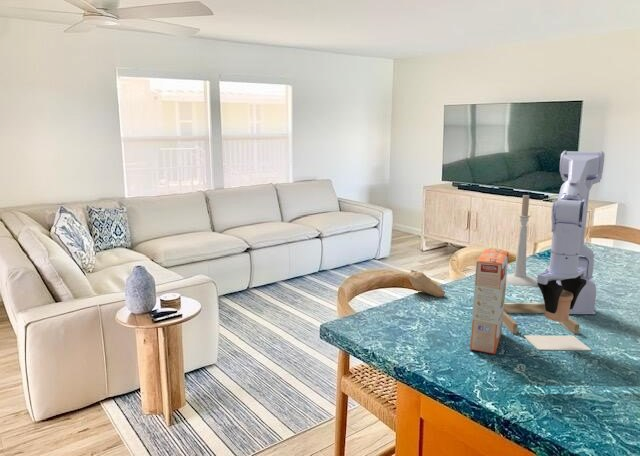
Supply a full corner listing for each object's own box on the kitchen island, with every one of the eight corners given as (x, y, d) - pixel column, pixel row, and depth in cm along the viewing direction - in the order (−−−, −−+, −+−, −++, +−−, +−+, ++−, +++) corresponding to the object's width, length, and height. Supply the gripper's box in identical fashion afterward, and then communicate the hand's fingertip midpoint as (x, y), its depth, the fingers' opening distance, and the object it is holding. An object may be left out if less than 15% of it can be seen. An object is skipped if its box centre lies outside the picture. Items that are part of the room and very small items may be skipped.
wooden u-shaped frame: (548, 311, 134) (549, 303, 134) (578, 334, 118) (579, 324, 118) (490, 311, 134) (491, 302, 134) (512, 333, 118) (513, 324, 118)
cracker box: (497, 355, 106) (503, 263, 102) (468, 350, 109) (474, 260, 105) (503, 333, 118) (509, 250, 115) (478, 329, 121) (483, 248, 117)
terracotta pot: (556, 311, 116) (559, 287, 114) (575, 320, 111) (579, 295, 109) (537, 314, 114) (541, 289, 113) (556, 323, 109) (560, 298, 107)
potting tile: (573, 336, 117) (573, 335, 117) (591, 350, 109) (591, 349, 109) (523, 336, 117) (523, 335, 117) (537, 350, 109) (538, 349, 109)
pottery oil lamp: (437, 301, 142) (438, 278, 141) (401, 293, 150) (402, 271, 148) (450, 294, 149) (451, 272, 147) (415, 287, 156) (416, 266, 155)
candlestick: (527, 291, 153) (535, 196, 147) (491, 282, 162) (497, 193, 157) (547, 284, 161) (555, 194, 155) (511, 275, 170) (518, 191, 165)
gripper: (569, 246, 116) (564, 300, 118) (527, 252, 109) (523, 309, 112) (597, 252, 110) (591, 309, 112) (555, 258, 103) (549, 319, 105)
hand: (559, 310), depth 111 cm, fingers closed on terracotta pot, 5 cm apart
